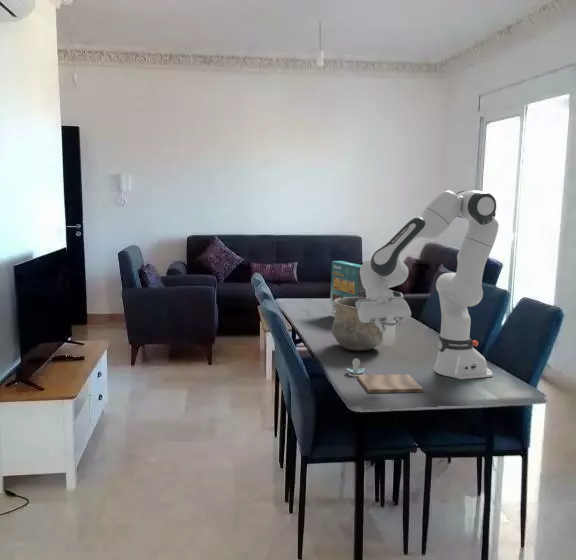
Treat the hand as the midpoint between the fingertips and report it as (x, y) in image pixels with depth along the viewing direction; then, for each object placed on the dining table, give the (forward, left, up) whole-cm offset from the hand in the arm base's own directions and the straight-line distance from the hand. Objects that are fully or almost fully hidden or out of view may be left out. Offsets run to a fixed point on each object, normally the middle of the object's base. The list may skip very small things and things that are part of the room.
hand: (390, 330), depth 227 cm
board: (-1, +1, -21) cm, 21 cm away
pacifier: (+9, -11, -21) cm, 25 cm away
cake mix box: (-9, -103, -21) cm, 106 cm away
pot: (-1, -47, -21) cm, 52 cm away
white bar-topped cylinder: (0, -1, -6) cm, 6 cm away
